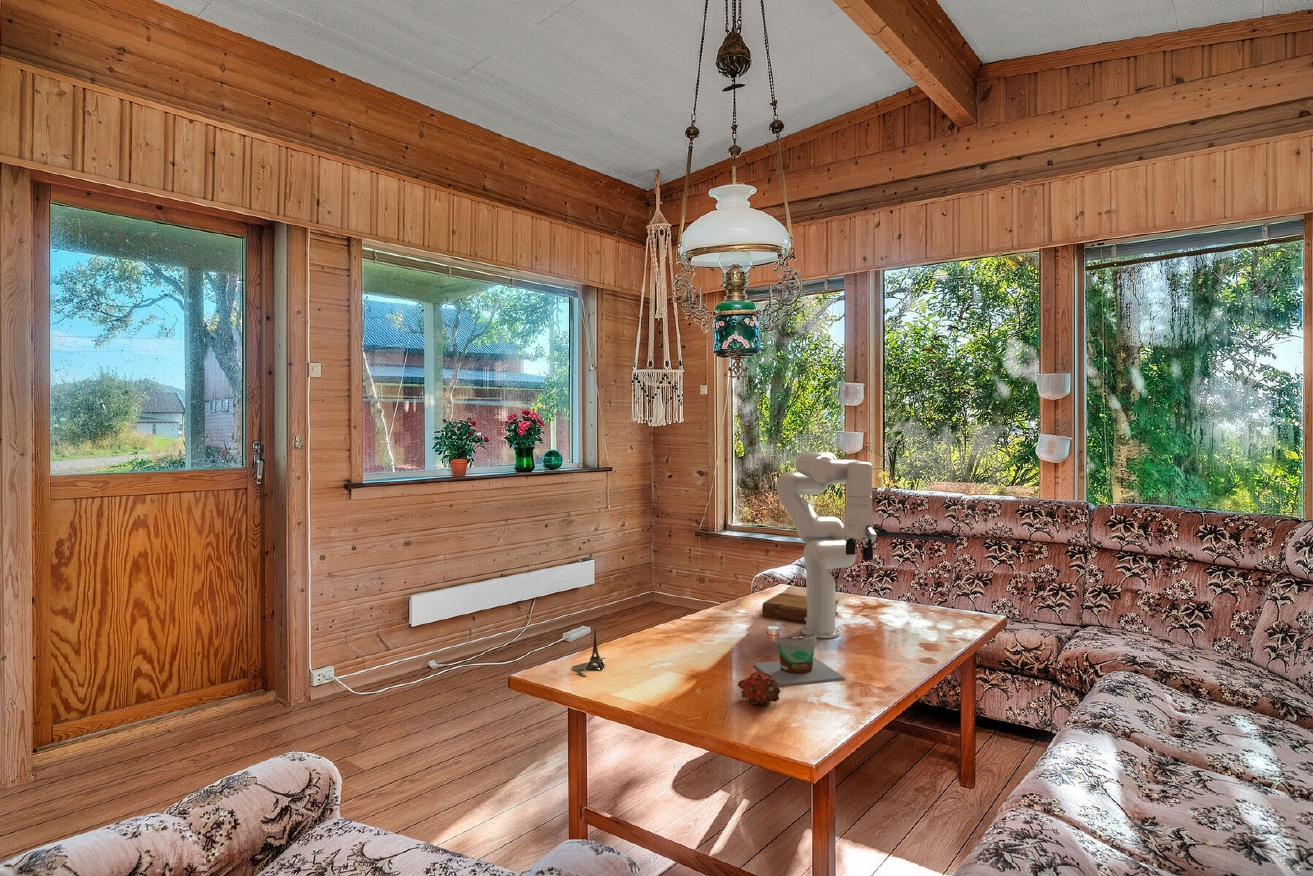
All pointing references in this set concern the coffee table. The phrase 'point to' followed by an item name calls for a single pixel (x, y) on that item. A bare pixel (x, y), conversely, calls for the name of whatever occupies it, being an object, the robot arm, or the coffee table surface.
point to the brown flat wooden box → (787, 607)
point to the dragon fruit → (760, 688)
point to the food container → (796, 653)
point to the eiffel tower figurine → (593, 659)
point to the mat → (786, 679)
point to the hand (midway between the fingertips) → (859, 557)
